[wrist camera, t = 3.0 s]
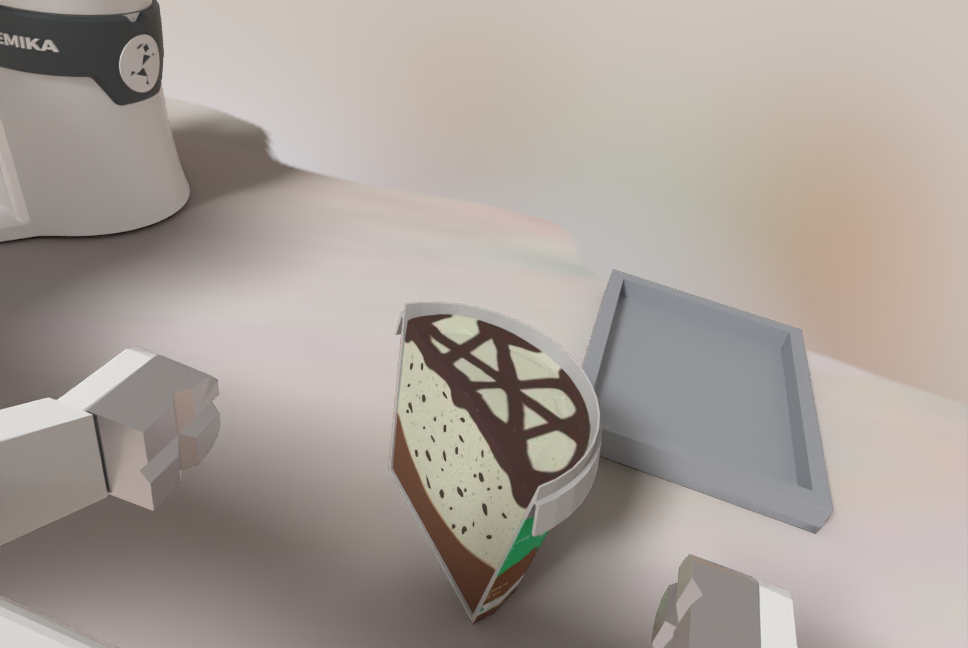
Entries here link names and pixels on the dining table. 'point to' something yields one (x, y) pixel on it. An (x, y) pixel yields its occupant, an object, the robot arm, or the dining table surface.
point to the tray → (708, 400)
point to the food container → (488, 442)
